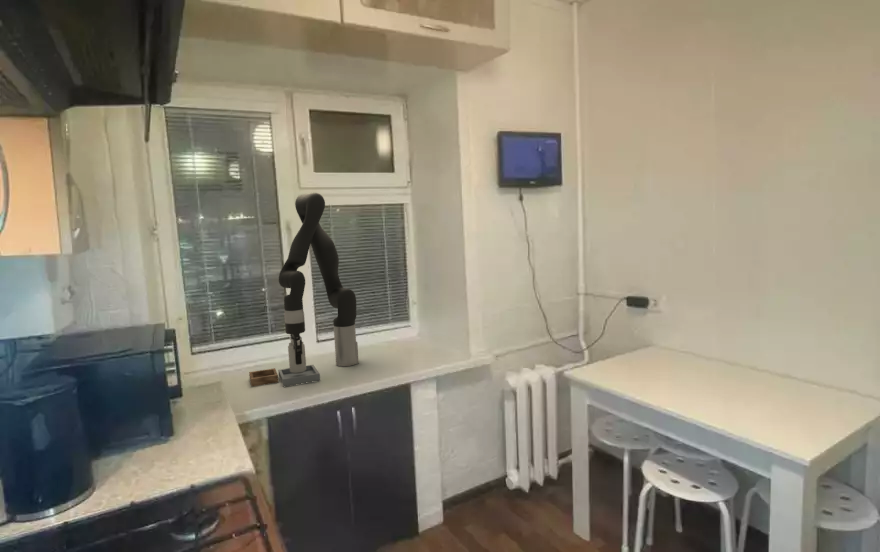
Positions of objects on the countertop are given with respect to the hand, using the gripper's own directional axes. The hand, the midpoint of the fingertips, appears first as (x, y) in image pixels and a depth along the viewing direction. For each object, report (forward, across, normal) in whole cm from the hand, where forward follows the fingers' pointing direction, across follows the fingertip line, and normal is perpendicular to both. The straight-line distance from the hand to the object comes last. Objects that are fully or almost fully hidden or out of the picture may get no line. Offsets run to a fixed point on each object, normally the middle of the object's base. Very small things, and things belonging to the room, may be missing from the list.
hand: (297, 362), depth 204 cm
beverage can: (+4, 0, 0) cm, 4 cm away
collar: (+7, +5, +13) cm, 15 cm away
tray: (+7, 0, 0) cm, 7 cm away
